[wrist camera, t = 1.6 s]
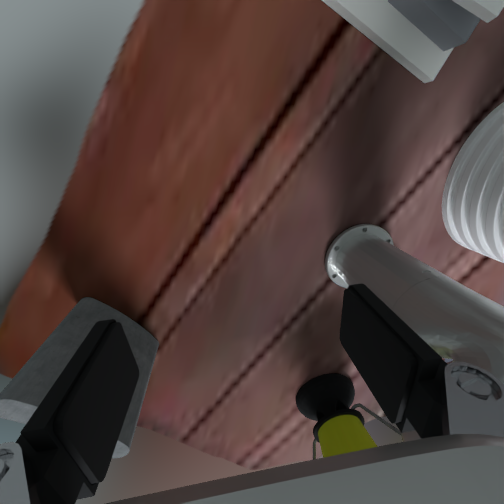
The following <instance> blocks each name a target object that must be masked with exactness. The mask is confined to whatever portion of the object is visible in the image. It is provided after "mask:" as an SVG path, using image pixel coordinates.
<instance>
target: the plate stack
mask: <svg viewBox="0 0 504 504" xmlns="http://www.w3.org/2000/svg"><path fill="white" fill-rule="evenodd" d="M442 216H443V221H444V225H445V227H446V230H447V232H448V233H449V235H450V236H451V238H452V239H453V240H454V241H455V242H457V243H458V244H459V245H461V246H463V247H466V248H468V249H470V250H473V251H475V252H478V253H480V254H482V255H485V256H488V257H490V258H492V259H495V260H497V261H499V262H503V263H504V102H503V103H501V104H500V105H499V106H498V107H496V108H495V109H494V110H493V111H492V112H491V113H490V114H489V115H488V116H487V117H485V118H484V120H483V121H482V122H481V123H480V124H479V125H478V126H477V127H476V128H475V130H474V131H473V132H472V133H471V135H470V136H469V137H468V139H467V140H466V142H465V143H464V145H463V146H462V148H461V149H460V151H459V153H458V155H457V156H456V158H455V160H454V162H453V164H452V167H451V169H450V171H449V174H448V177H447V180H446V183H445V187H444V192H443V198H442Z"/></svg>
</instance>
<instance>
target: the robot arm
mask: <svg viewBox="0 0 504 504" xmlns="http://www.w3.org/2000/svg"><path fill="white" fill-rule="evenodd" d="M325 268H326V271H327V274H328V276H329V277H330V279H331V280H332V281H333V282H334V283H335V284H337V285H338V286H341V287H343V288H347V289H345V290H344V298H343V308H342V318H341V328H340V341H341V344H342V346H343V347H344V349H345V350H346V352H347V354H348V355H349V357H350V358H351V360H352V362H353V363H354V365H355V366H356V368H357V370H358V371H359V373H360V374H361V376H362V378H363V379H364V381H365V382H366V384H367V386H368V387H369V389H370V390H371V392H372V394H373V395H374V397H375V398H376V400H377V402H378V403H379V405H380V406H381V408H382V410H383V411H384V413H385V414H386V416H387V418H388V419H389V421H390V422H391V423H396V425H397V427H398V428H399V430H400V431H401V435H402V440H403V442H401V443H395V444H390V445H384V446H379V447H374V448H369V449H364V450H359V451H354V452H349V453H344V454H339V455H334V456H329V457H324V458H319V459H314V460H310V461H305V462H300V463H295V464H290V465H286V466H281V467H276V468H271V469H266V470H261V471H256V472H252V473H247V474H242V475H237V476H233V477H227V478H223V479H218V480H213V481H208V482H204V483H199V484H194V485H189V486H185V487H180V488H176V489H171V490H166V491H161V492H157V493H153V494H147V495H143V496H138V497H133V498H129V499H124V500H119V501H115V502H111V503H107V504H504V306H502V305H500V304H498V303H496V302H494V301H492V300H490V299H488V298H486V297H484V296H482V295H480V294H479V293H477V292H475V291H473V290H471V289H469V288H467V287H466V286H464V285H462V284H460V283H459V282H457V281H455V280H453V279H451V278H450V277H448V276H446V275H444V274H443V273H441V272H439V271H437V270H436V269H434V268H432V267H430V266H429V265H427V264H425V263H423V262H421V261H420V260H418V259H416V258H414V257H413V256H411V255H409V254H407V253H406V252H404V251H402V250H400V249H399V248H397V247H395V246H394V245H393V241H392V238H391V236H390V235H389V234H388V232H387V231H385V230H384V229H383V228H381V227H379V226H376V225H373V224H360V225H356V226H353V227H350V228H348V229H347V230H345V231H343V232H342V233H341V234H340V235H338V236H337V238H336V239H335V240H334V241H333V242H332V244H331V245H330V247H329V249H328V251H327V254H326V258H325ZM442 358H448V359H453V362H452V363H449V364H447V363H446V362H444V361H443V360H442ZM138 379H139V368H138V365H137V363H136V360H135V358H134V355H133V353H132V350H131V348H130V345H129V342H128V340H127V337H126V335H125V332H124V330H123V327H122V325H121V323H120V322H116V320H115V319H110V320H103V321H98V322H96V323H95V325H94V326H93V328H92V329H91V330H90V332H89V333H88V335H87V336H86V338H85V339H84V341H83V342H82V344H81V345H80V346H79V348H78V349H77V351H76V352H75V354H74V355H73V357H72V358H71V360H70V361H69V362H68V364H67V365H66V367H65V368H64V370H63V371H62V373H61V374H60V376H59V377H58V378H57V380H56V381H55V383H54V384H53V386H52V387H51V389H50V390H49V392H48V393H47V394H46V396H45V397H44V399H43V400H42V402H41V403H40V405H39V406H38V408H37V409H36V410H35V412H34V413H33V415H32V416H31V418H30V419H29V421H28V422H27V424H26V425H25V427H24V428H23V430H22V431H21V435H20V437H19V438H18V440H17V441H16V443H14V442H8V443H3V444H0V504H75V502H76V500H77V499H82V498H87V497H92V496H94V495H95V492H96V489H97V487H98V484H99V482H102V481H103V480H104V478H105V476H106V473H107V470H108V467H109V464H110V461H111V458H112V456H113V453H114V450H115V447H116V444H117V441H118V438H119V435H120V432H121V429H122V426H123V423H124V420H125V417H126V414H127V411H128V408H129V405H130V402H131V400H132V397H133V394H134V391H135V388H136V385H137V382H138Z"/></svg>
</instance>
